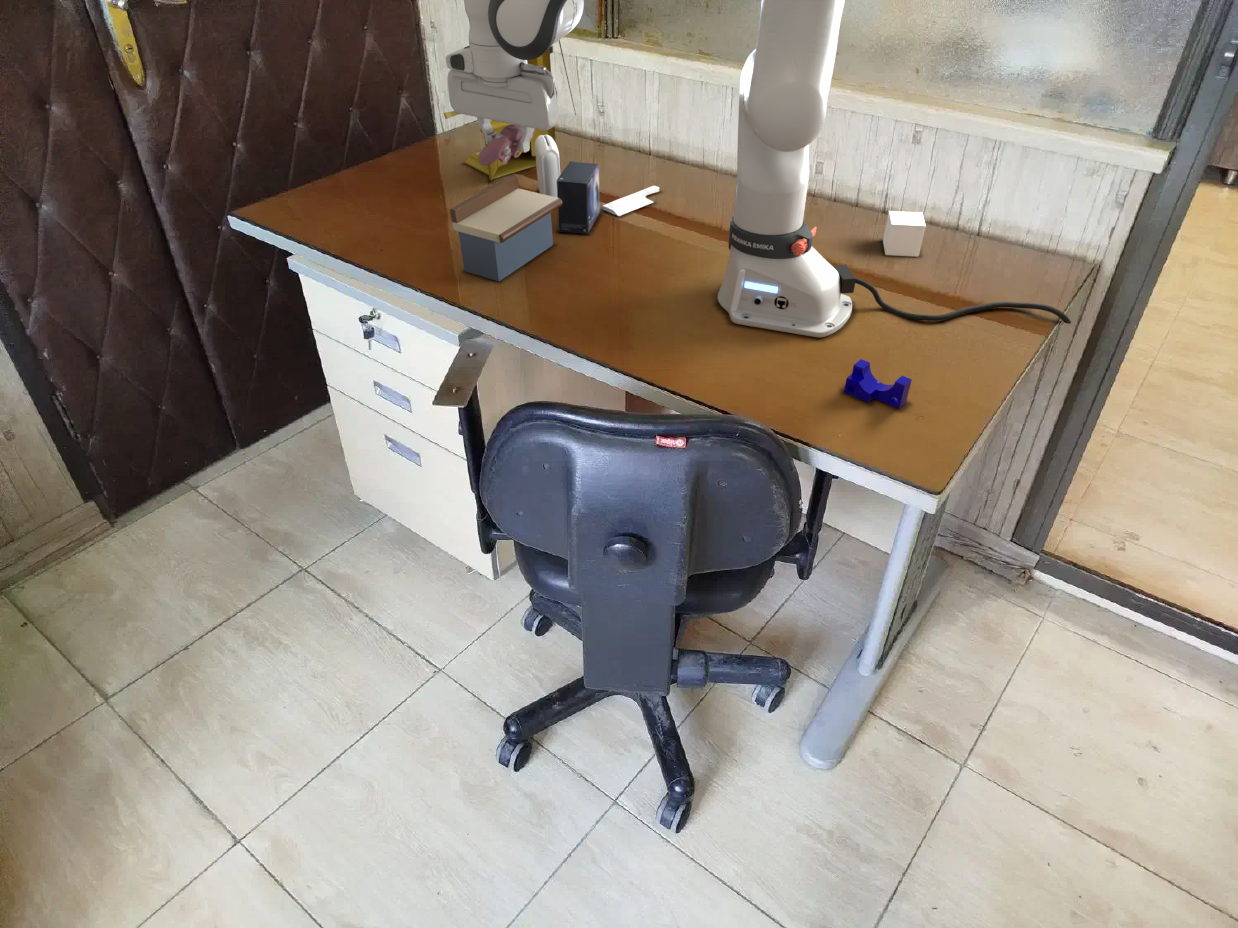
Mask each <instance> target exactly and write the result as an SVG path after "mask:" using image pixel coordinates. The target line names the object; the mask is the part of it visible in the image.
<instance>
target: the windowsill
mask: <svg viewBox="0 0 1238 928" xmlns="http://www.w3.org/2000/svg"><path fill="white" fill-rule="evenodd" d="M562 204H563V202H562V200H561V199H560V198H557V197H552V196H548V195H544V194H540V192H536V191H531V190H526V189H522V188H519V180H518V175H515V174H511V175H509V176H507V177H505V178H504V179H502V180H500V181H498V182H496V183H494V184H493V185H491V186H489V187H487V188H486V189H484V190H482V191H480V192H477V193H476V194H474V195H473V196H471V197H469V198H467V199H465V200H463V201H462V202H460V203H458V204H456V205H454V206H453V207H450V208H449V212H450V213H449V214H450V219H451V224H452V231H455V232H458V239H459V245H460V251H461V259H462V265H463V271H464V272H465V273H469V274H472V275H476V276H479V277H482V278H485V279H489V280H493V281H496V282H500V281H502V280H503V279H505V278H507V277H508V276H510V275H511V274H512V273H514V272H516V271H517V270H518V269H520V268H521V267H523V266H524V265H526V264H527V263H528V262H530V261H532V260H533V259H535V258H536V257H537V256H539V255H540V254H542V253H544V252H545V251H547V250H548V249H550V248H551V247H552V246H553V245H554V239H553V225H552V212H554V211H555V210H558V207H560V206H561V205H562Z"/></svg>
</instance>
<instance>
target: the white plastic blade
mask: <svg viewBox="0 0 1238 928" xmlns="http://www.w3.org/2000/svg"><path fill="white" fill-rule="evenodd" d="M659 192H660V187H659V186H658V185H657V186H656V185H652V186H649V187H647V188H644V189H641V190H639V191H637V192H634V193H631V194H628V195H625V196H623V197H620V198H617V199H615V200H613V201H610V202H608V203H605V204H602V205H601V210H603V211H606V212H608V213H610V214H612V215H615V216H617V217H621V216H623V215H625V214H628V213H631V212H634V211H635V210H638V209H640V208H643V207H646V206H648V205H650V204H651V205H652V204H653V203H654V201H653V200H651V199H649V198H647V196H648V195H652V194H655V193H659Z"/></svg>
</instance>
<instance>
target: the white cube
mask: <svg viewBox="0 0 1238 928" xmlns="http://www.w3.org/2000/svg"><path fill="white" fill-rule="evenodd" d="M926 228H927V225H926V222H925V217H924V213H923V212H921V211H920V212H918V211H902V210H901V211H898V210H888V214H887V219H886V224H885V229H884V233H883V238H882V244H883V249H884V254H885V256H898V257H917V258H919V257H920V254H921V249H922V245H923V240H924V236H925V233H926Z"/></svg>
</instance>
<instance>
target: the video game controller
mask: <svg viewBox="0 0 1238 928" xmlns="http://www.w3.org/2000/svg"><path fill="white" fill-rule="evenodd" d="M522 134H523V132H520V126H519V125H509V126H506V127H505V128H504V129H503V130H502V131H501V132H500V133H497V134H496V136H495V137H494V138H493V139H492V140H491V141H490V143H489V144H488V145H487V146H486V145H485V147H484V148H483V149H481V150H480V151H481V152H480V151H479V152H480V153H479V155H478V160H479V162H480V164H481V165H490V164H492V163H494V162H495V161H496V160H498V159H499V160H500V161H501V162H502V163H503V164H505V163H506V162H508V160H509V159H510V157H511V155H512V156H514V157H515V158H516V157H518V156H519V155H520V154H521V153H522V152H520V151H517V145H516V141H517V140H520V139H521V137H522ZM533 134H534V131H533ZM533 134H532V136H531V138H530V140H529V143H530V141H531V140H532V137H533Z"/></svg>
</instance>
